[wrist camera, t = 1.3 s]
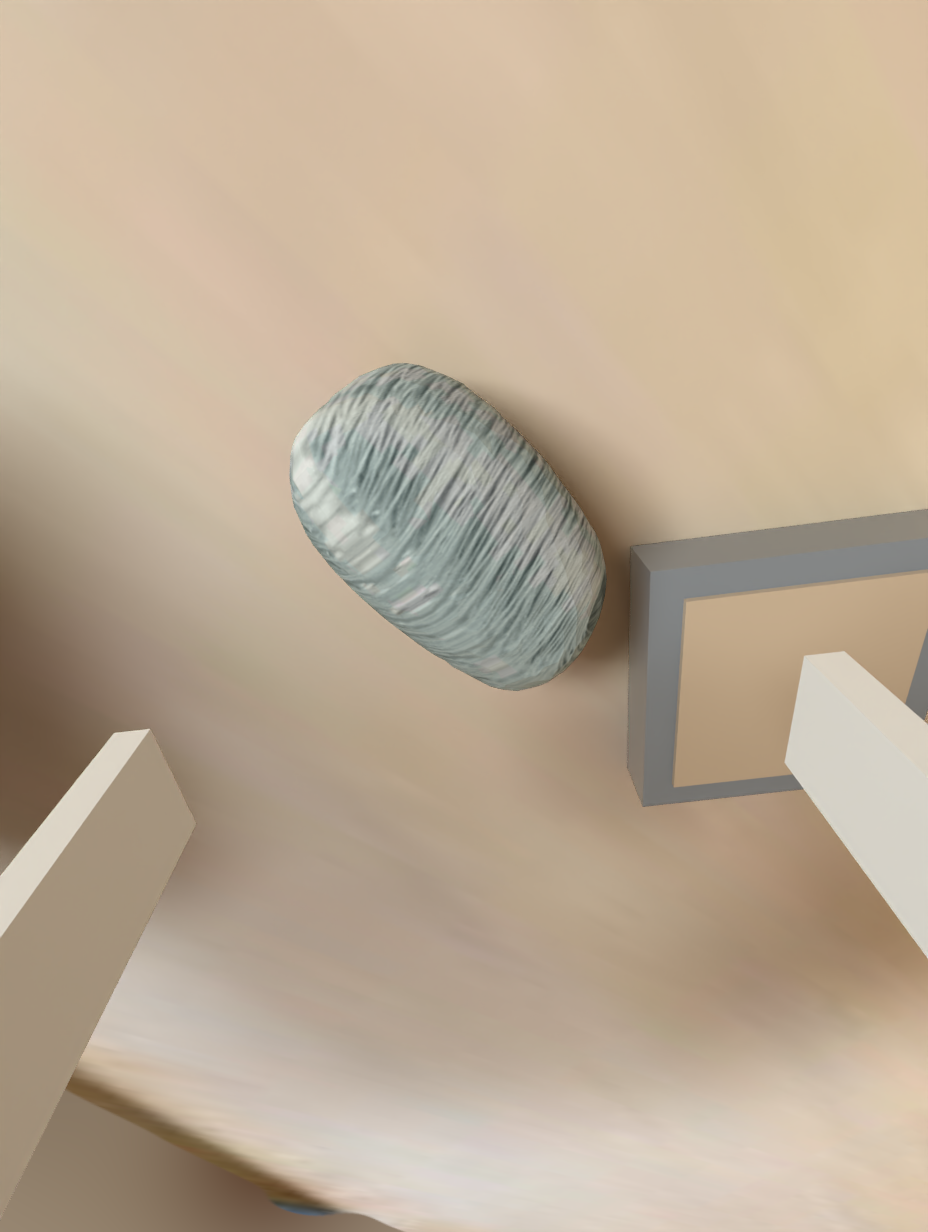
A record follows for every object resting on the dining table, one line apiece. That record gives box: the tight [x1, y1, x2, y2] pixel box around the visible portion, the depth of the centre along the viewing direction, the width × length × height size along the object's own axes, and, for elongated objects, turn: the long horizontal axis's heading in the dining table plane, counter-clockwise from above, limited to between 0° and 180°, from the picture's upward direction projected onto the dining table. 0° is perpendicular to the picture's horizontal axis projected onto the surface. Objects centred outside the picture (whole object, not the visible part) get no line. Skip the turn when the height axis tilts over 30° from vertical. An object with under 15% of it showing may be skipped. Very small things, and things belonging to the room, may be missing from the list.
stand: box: [627, 509, 928, 807], centre depth 29 cm, size 14×14×3 cm
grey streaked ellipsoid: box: [290, 363, 607, 691], centre depth 23 cm, size 14×10×10 cm
